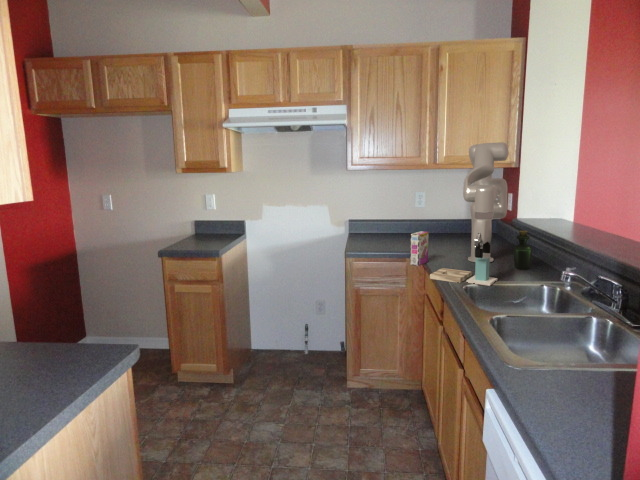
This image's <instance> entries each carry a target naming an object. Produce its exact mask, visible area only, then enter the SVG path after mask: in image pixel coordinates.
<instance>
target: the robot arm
mask: <svg viewBox="0 0 640 480" xmlns="http://www.w3.org/2000/svg"><path fill="white" fill-rule="evenodd" d="M468 157H469V160H470V163H471V165H472V168H473V169H471V170H470V171H469V172H467V175H465V178H464V181H463V188H462V191H463V192H462V197H463V199H464V201H465V202H468V203H470V206H469V207H470V208H469V209H470V219H471V237H470V238H471V241H470V242H471V245H470V250H471V251H470V256H468V258H467V261H469V262H471V263H476V259H477V258H490V263H491V262H493V261H494V257H491V249H492V248H491V247H492V246H491V245H492V243H491V241H492V231H493V229H492V227H493V226H492V220H499V219H504V218H506V216H507V213H508V183H507V181H506V179H504V178H498V177H497V178H493V175H492V174H494V171H495V162H505V161H506V160H508V157H509V147H508V145H507V143H506V142H485V143H479V144H478V143H477V144H473V145H471V146H470V147H469V148H468Z"/></svg>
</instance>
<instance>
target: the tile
mask: <svg viewBox="0 0 640 480" xmlns="http://www.w3.org/2000/svg"><path fill="white" fill-rule="evenodd" d="M465 281H466V282H468V283H467V284H473V283H475V285H481V286H489V287H490V286H492V285H493V284H494V282H495V281H496V282H497V281H498V278H497V277H491V276H489V279H488V280H486V281H481V280H475V274H474V275H473V276H471V277H469V278H467V279H466V280H465ZM496 282H495V283H496Z"/></svg>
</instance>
